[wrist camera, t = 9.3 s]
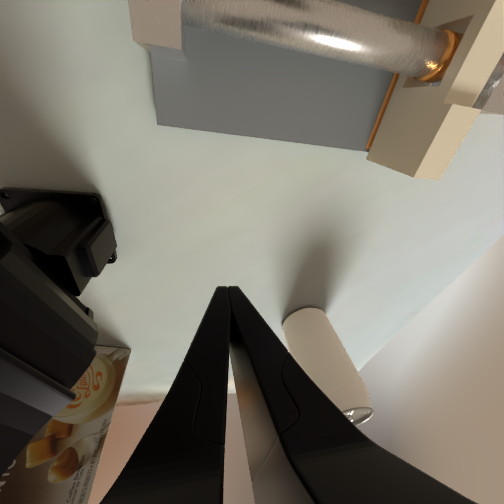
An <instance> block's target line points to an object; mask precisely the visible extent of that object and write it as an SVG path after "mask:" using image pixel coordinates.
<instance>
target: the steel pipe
mask: <svg viewBox="0 0 504 504" xmlns="http://www.w3.org/2000/svg"><path fill="white" fill-rule="evenodd" d="M128 2H129V10H130V18H131V26H132V34H133V40H134V41H135V42H136V43H137V44H139V45H140V46H141V47H142V48H144V49H145V50H146V51H147V52H149V53H150V54H154V55H159V56H164V57H169V58H174V59H180V60H185V61H187V27H192V28H196V29H201V30H205V31H209V32H214V33H218V34H223V35H227V36H232V37H236V38H241V39H245V40H250V41H254V42H259V43H263V44H268V45H272V46H277V47H281V48H286V49H290V50H295V51H299V52H304V53H308V54H312V55H317V56H321V57H326V58H330V59H335V60H339V61H344V62H348V63H353V64H357V65H362V66H366V67H371V68H375V69H380V70H384V71H389V72H393V73H398V74H402V75H407V76H411V77H413V78H414V79H415V80H418V81H423V82H428V83H436V82H438V83H441V81H442V79H443V77H444V75H445V73H446V71H447V69H448V67H449V65H450V63H451V61H452V58H453V56H454V54H455V52H456V50H457V48H458V46H459V44H460V42H461V40H462V38H463V36H464V35H463V34H462V33H458V32H455V31H452V30H448V29H440V30H438V29H434V28H431V27H427V26H424V25H420V24H417V23H413V22H410V21H406V20H403V19H399V18H396V17H392V16H389V15H385V14H382V13H378V12H375V11H372V10H368V9H365V8H361V7H358V6H354V5H351V4H347V3H344V2H340V1H337V0H128ZM186 26H187V27H186ZM472 108H476V109H481V111H480V113H481V114H499V115H504V53H503V54H502V56H501V58H500V60H499V61H498V63H497V65H496V66H495V68H494V70H493V72H492V73H491V75H490V77H489V79H488V80H487V82H486V84H485V85H484V87H483V89H482V91H481V92H480V94H479V96H478V98H477V99H476V101H475V103H474V105H473V106H472Z"/></svg>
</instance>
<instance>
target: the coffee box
mask: <svg viewBox="0 0 504 504" xmlns="http://www.w3.org/2000/svg"><path fill="white" fill-rule="evenodd" d="M94 349H96V351H97V353H96V356H95V358H94V360H93V361H92V363H91V365H90V367H89V368H88V369H87V371H86V372H85V373H84V375H83V376H82V377H81V378H80V380H79V381H78V382H77V384H76V385H75V386H74V387H73V388H72V389H71V391H73V392H74V393H76V398H75V399H74V400H73V401H72V402H71V403H70V404H68V405H67V406H66V407H65V408H63V409H62V410H61V411H60V412H58V413H57V414H56V415H55V416H53V417H52V418H51V419H50V420H49V421H48V422H47V423H46V424H45V425H44V426H43V427H42V428H41V429H40V430H39V431H38V432H37V433H36V434H35V435H34V436H33V438H32V439H31V440H30V441H29V442H28V444H27V445H26V446H25V447H24V448H23V450H22V451H21V452H20V453H19V455H18V456H17V457H16V459H15V460H14V461H13V462H12V464H11V465H10V466H9V468H8V469H7V470H6V471H5V473H4V474H3V475H2V477H1V478H0V504H88V500H89V496H90V493H91V490H92V486H93V483H94V479H95V476H96V472H97V469H98V465H99V462H100V458H101V455H102V452H103V448H104V444H105V441H106V437H107V434H108V431H109V427H110V424H111V420H112V417H113V413H114V410H115V406H116V403H117V399H118V396H119V392H120V389H121V386H122V382H123V378H124V375H125V371H126V367H127V364H128V360H129V357H130V353H131V349H125V348H116V347H106V346H96V345H95V347H94Z"/></svg>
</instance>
